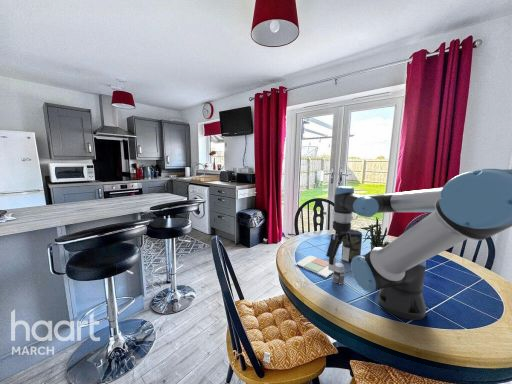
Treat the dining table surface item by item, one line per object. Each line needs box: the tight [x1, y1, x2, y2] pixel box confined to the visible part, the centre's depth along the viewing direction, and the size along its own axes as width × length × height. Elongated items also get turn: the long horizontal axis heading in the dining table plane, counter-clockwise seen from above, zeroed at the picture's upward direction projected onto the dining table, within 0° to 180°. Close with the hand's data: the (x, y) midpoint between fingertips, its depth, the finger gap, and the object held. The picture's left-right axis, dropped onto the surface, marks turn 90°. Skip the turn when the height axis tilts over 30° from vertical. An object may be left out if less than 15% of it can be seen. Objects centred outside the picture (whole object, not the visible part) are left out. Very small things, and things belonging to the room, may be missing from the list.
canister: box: [341, 228, 363, 264], centre depth 116 cm, size 10×10×18 cm
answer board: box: [295, 254, 333, 279], centre depth 110 cm, size 18×14×1 cm
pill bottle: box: [332, 262, 346, 285], centre depth 96 cm, size 5×5×8 cm
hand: (338, 265), depth 96 cm, fingers open, 13 cm apart
